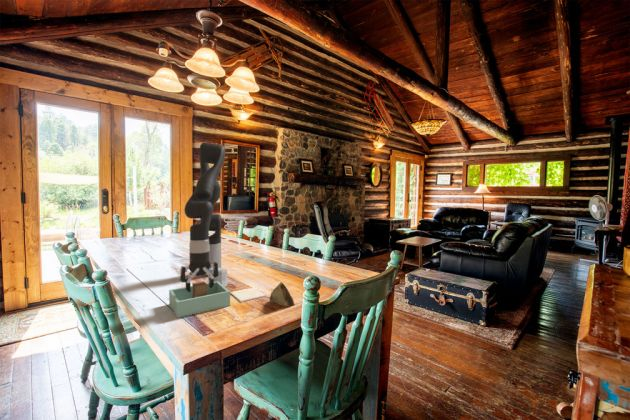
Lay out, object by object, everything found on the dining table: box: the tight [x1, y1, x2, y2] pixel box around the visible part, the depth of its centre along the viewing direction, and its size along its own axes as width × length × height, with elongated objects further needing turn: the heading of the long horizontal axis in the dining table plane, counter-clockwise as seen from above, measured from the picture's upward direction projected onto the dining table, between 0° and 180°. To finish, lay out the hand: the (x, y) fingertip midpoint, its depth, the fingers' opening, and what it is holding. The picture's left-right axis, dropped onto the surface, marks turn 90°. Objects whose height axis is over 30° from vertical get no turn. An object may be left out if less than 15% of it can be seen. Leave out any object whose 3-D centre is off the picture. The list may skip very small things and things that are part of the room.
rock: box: [269, 282, 296, 307], centre depth 121 cm, size 11×9×10 cm
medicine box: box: [207, 267, 228, 288], centre depth 138 cm, size 8×4×9 cm, turn 71°
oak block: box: [191, 280, 207, 298], centre depth 117 cm, size 4×4×9 cm
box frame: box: [168, 281, 231, 319], centre depth 117 cm, size 15×20×6 cm
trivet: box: [230, 286, 267, 303], centre depth 129 cm, size 12×12×1 cm
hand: (200, 289), depth 116 cm, fingers open, 8 cm apart
